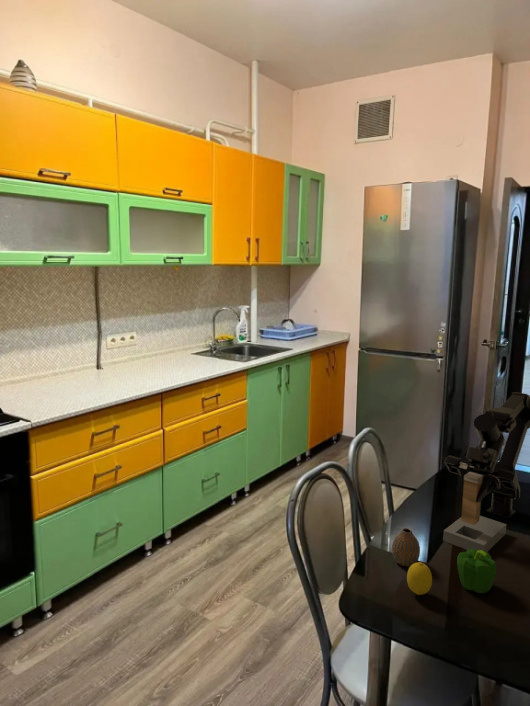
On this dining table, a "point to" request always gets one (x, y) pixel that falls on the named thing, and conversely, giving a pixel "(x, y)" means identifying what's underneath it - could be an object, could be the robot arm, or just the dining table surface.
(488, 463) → the robot arm
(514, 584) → the dining table surface
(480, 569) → the bell pepper
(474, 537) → the block with square hole
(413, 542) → the vase
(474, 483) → the wooden square peg
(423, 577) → the lemon
